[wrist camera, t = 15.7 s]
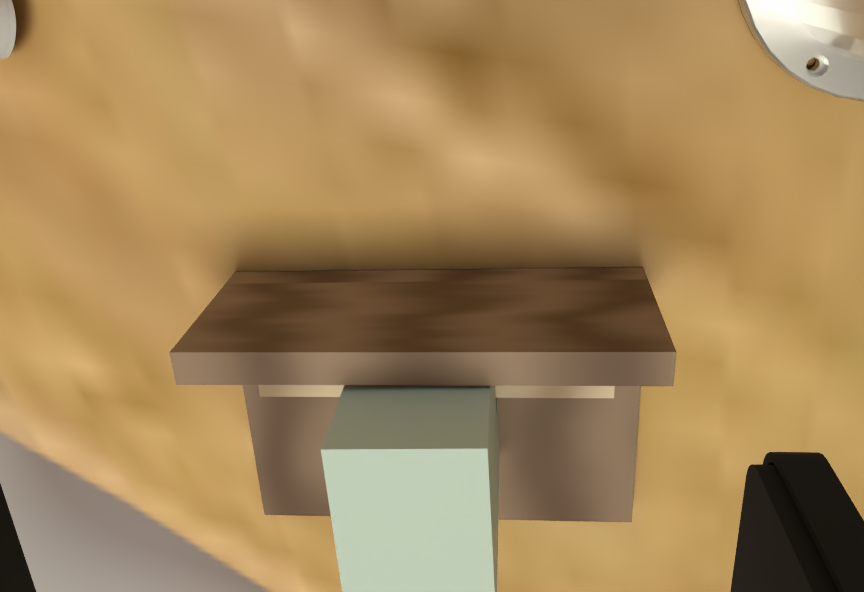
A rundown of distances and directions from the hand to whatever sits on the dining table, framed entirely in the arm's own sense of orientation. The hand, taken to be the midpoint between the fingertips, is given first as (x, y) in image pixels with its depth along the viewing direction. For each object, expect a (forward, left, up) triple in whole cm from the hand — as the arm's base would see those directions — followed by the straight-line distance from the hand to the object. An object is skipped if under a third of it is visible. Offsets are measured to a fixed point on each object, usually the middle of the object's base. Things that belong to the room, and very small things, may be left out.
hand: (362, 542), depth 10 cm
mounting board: (+2, +15, -28) cm, 32 cm away
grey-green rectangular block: (+2, +14, -27) cm, 30 cm away
